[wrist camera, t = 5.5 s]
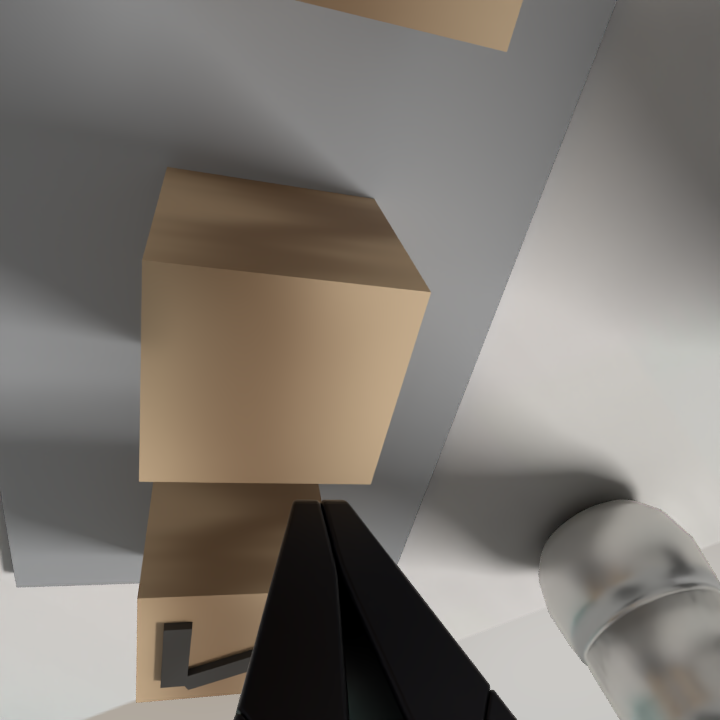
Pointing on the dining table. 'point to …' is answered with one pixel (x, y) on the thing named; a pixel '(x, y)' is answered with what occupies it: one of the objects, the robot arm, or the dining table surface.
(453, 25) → the oak block marked 1
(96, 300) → the grey rubber mat
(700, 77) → the dining table surface
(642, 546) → the plastic bottle
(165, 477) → the plain oak block
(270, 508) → the oak block marked 7
